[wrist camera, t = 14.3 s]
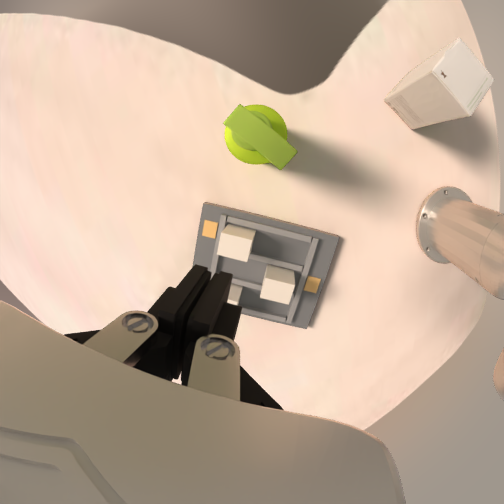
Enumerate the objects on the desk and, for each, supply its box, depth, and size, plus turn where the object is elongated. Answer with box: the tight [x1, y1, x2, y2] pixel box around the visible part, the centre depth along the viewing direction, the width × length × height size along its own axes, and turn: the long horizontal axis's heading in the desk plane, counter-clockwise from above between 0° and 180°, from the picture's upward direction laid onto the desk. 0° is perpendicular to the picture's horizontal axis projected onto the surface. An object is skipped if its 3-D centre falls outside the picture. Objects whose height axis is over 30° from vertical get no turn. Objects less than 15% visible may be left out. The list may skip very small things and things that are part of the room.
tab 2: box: [227, 283, 243, 305], centre depth 40 cm, size 4×3×5 cm
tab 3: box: [260, 264, 295, 305], centre depth 39 cm, size 4×3×5 cm
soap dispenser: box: [223, 104, 297, 170], centre depth 27 cm, size 6×7×20 cm
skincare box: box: [384, 38, 494, 130], centre depth 24 cm, size 8×7×16 cm
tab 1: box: [217, 224, 256, 262], centre depth 37 cm, size 4×3×5 cm
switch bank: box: [193, 202, 339, 329], centre depth 42 cm, size 20×16×2 cm
